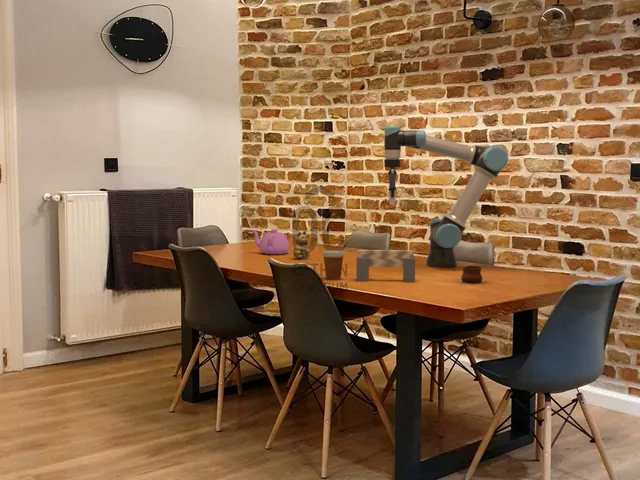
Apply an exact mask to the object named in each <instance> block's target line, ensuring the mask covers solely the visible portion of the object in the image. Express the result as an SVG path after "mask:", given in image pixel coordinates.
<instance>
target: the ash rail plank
mask: <svg viewBox="0 0 640 480" xmlns="http://www.w3.org/2000/svg"><path fill="white" fill-rule="evenodd" d="M414 252H415V251H414V250H395V249H394V250H391V249H389V250H388V249H386V250H385V249H358V250H357V256H358V258H368V267H370V268H403V258H413V257H414Z"/></svg>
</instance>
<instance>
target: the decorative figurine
mask: <svg viewBox="0 0 640 480" xmlns="http://www.w3.org/2000/svg"><path fill="white" fill-rule="evenodd" d="M310 235H311V234H310V233H307V232H306V230H303V231H302V232H301V231H299V232H298V233H297V234H296V236H295V238H294V241H295V245H294V247H293V250H292V254H293V257H294V258H295V259H296V260H299V259H300V260H302V261H303V260H308V259H309V257H311V254H310V249H309V248H308V247H307V246H308V245H309V239H308V237H310Z"/></svg>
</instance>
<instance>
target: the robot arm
mask: <svg viewBox="0 0 640 480" xmlns="http://www.w3.org/2000/svg"><path fill="white" fill-rule="evenodd" d="M383 139H384V142H383V143H384V144H383V145H384V146H383V147H384V151H383V152H382V154H383V155H384V162H383V163H384V164H383V166H384V168H389V169H388V171H387V176H388V180H389V185H388V203H389V205H391V206H393V205H396V190H397V187H396V180H397V171H396V168H400V167H401V147H407V148H413V149H415V150H420V151H424V152H428V153H433V154H435V155H436V154H437V155H441V156H444V157H448V158H452V159H457V160H460V161H463V162H467V163H468V165H471V166H474V172H473V174H472V176H471V177H470V179H469V181H468V182H467V184H466V186H465V187H464V189H463V191H462V192H461V194H460V195H459V197H458V198H457V201H456V202H455V203H454V205H453V207H452V209H451V210H450V212H449V213H448V214H445V215H444V216H443V217H442V218H436V219H431V221H430V225H429V227H430V228H429V229H430V232H429V233H430V235H429V237H430V238H429V239H430V240H429V246H430V247H429V252H428V255H427V257H426V261H425V262H426V263H425V265H426V266H428V267H436V268H451V267H453V268H454V267H457V266H458V260H457V257H456V254H455V251H454V249H455V248H454V247H456V246H457V245H459V243H460V242H461V239H462V235H463V233H464V231H465V230H466V229H467V228H466V225H465V224H466V221H468V218H469V216H470V215H471V214H472V212H473V210H474V208H475V207H476V206H477V204H478V202H479V201H480V199H481V197H482V195H483V194H484V193H485V191H486V189H487V188H488V186H489V184H490V183H491V181H492V180H495V179H497V177H498V176H499V174H500V172H501V171H502V170H503V169H504V168H506V166H507V165H508V162H509V156H508V153H507V151H506V150H505V148H503V147H502V146H498V145H490V146H480V145H475V144H473V146H472V145H467V144H463V143H459V142H454V141H452V140H447V139H443V138H438V137H434V136H430V135H427V133H426V131H425V130H420V129H417V130H414V129H413V130H402V129H401V127H400V126H399V125H388V126H385V128H384V136H383Z"/></svg>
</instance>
